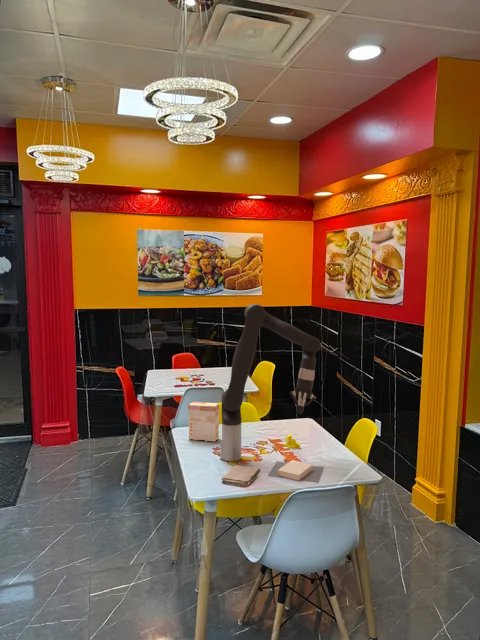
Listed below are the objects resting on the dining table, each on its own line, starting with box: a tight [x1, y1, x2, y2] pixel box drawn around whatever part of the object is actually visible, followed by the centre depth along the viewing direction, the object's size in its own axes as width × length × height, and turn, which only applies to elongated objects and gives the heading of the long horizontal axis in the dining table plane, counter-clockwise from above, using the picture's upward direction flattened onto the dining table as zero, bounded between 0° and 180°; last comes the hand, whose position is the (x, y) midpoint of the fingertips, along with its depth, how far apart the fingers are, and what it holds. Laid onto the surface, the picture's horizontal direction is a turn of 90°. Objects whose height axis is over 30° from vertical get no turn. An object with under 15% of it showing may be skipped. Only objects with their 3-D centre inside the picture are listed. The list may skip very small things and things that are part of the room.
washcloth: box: [221, 464, 260, 487], centre depth 205 cm, size 12×18×3 cm, turn 160°
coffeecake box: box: [188, 401, 220, 443], centre depth 255 cm, size 15×7×20 cm, turn 76°
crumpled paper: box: [283, 433, 301, 450], centre depth 243 cm, size 6×8×8 cm
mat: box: [267, 461, 325, 484], centre depth 210 cm, size 22×18×1 cm
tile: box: [278, 459, 313, 482], centre depth 208 cm, size 10×2×14 cm
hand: (299, 413), depth 228 cm, fingers closed
